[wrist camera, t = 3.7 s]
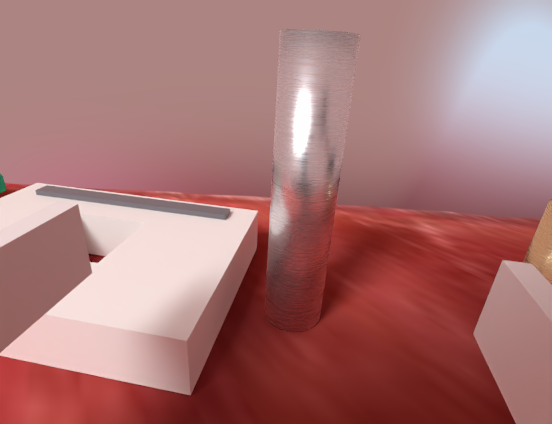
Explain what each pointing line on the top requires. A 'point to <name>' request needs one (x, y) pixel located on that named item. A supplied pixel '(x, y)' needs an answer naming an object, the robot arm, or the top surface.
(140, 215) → the hole plate
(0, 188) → the camera mount
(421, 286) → the top surface
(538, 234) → the short pin
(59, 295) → the robot arm
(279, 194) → the long pin
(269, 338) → the top surface
